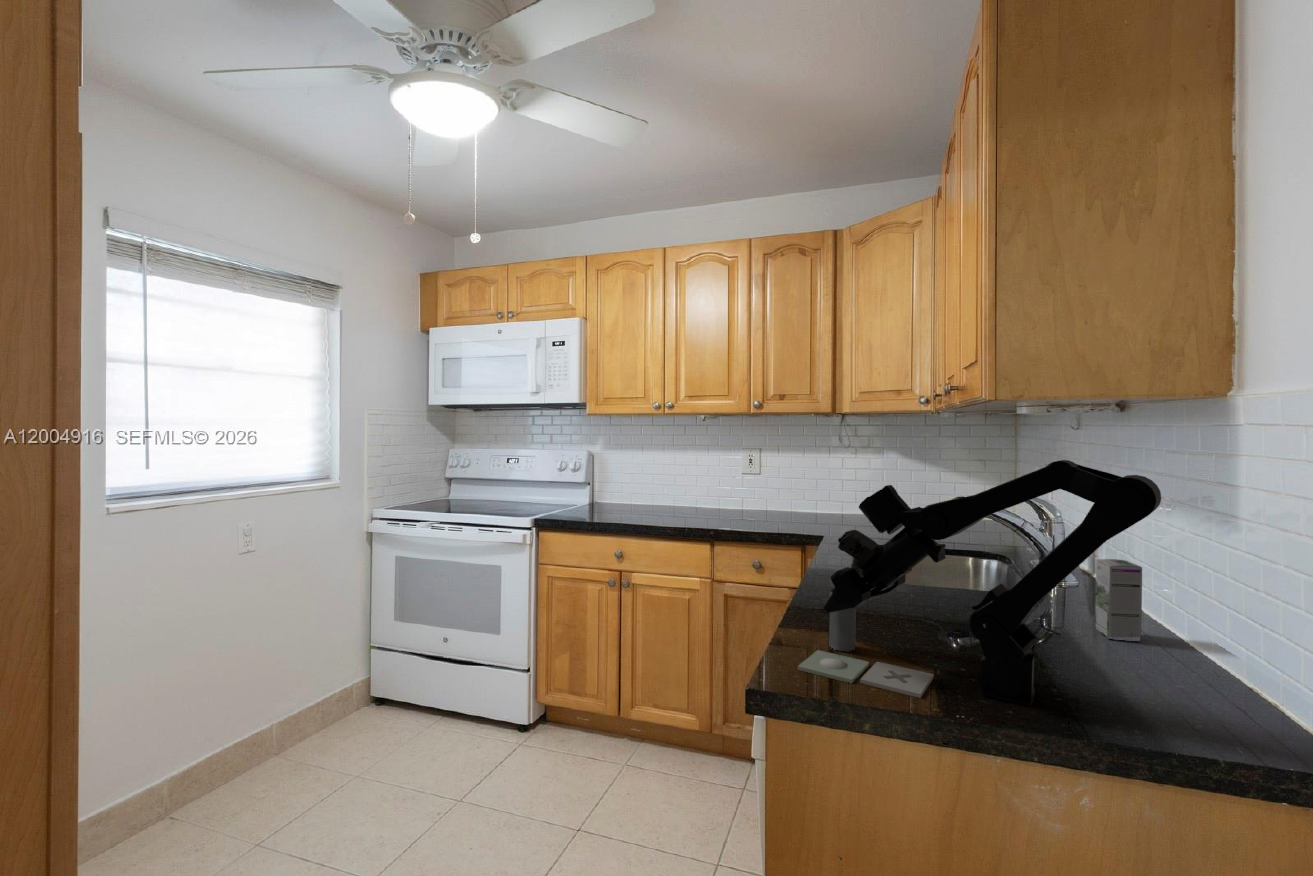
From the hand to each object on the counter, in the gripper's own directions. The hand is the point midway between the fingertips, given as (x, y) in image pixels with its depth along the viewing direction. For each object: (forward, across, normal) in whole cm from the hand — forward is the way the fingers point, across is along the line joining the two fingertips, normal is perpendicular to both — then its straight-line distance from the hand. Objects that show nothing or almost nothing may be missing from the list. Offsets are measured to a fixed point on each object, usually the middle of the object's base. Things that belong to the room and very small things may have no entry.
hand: (838, 605), depth 115 cm
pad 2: (-5, +7, +15) cm, 18 cm away
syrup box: (-20, -44, +31) cm, 57 cm away
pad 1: (+2, +10, +8) cm, 13 cm away
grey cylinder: (+5, 0, +6) cm, 8 cm away
